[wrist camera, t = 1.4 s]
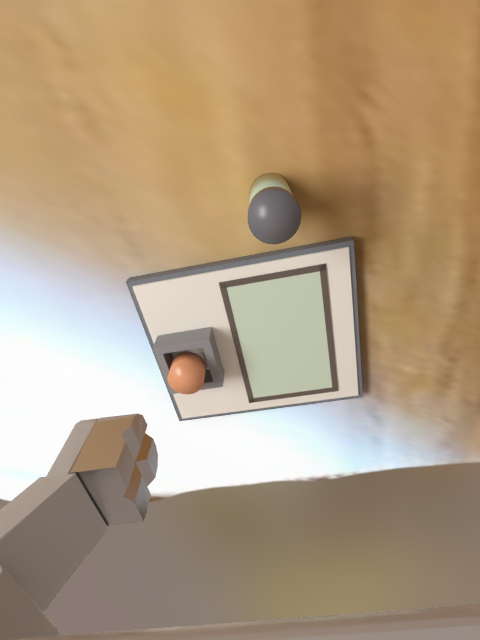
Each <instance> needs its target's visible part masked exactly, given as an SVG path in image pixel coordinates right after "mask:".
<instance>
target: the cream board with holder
mask: <svg viewBox="0 0 480 640" xmlns="http://www.w3.org/2000/svg"><path fill="white" fill-rule="evenodd" d="M126 283H127V286H128V289H129V291H130V294H131V296H132V299H133V301H134V304H135V307H136V309H137V312H138V314H139V317H140V320H141V322H142V325H143V327H144V330H145V333H146V335H147V338H148V340H149V343H150V346H151V348H152V351H153V353H154V356H155V358H156V361H157V364H158V366H159V369H160V371H161V374H162V377H163V379H164V382H165V384H166V387H167V390H168V392H169V395H170V397H171V400H172V403H173V405H174V408H175V410H176V413H177V416H178V418H179V421H184V420H192V419H199V418H207V417H215V416H222V415H230V414H237V413H245V412H253V411H260V410H268V409H275V408H283V407H291V406H298V405H306V404H314V403H321V402H329V401H336V400H344V399H352V398H359V397H363V390H362V373H361V355H360V338H359V321H358V303H357V286H356V269H355V252H354V240H353V238H352V237H347V238H341V239H336V240H330V241H325V242H320V243H314V244H309V245H303V246H298V247H293V248H287V249H282V250H276V251H271V252H266V253H260V254H255V255H250V256H244V257H239V258H233V259H228V260H223V261H217V262H212V263H206V264H201V265H196V266H190V267H185V268H179V269H174V270H169V271H163V272H158V273H153V274H147V275H142V276H136V277H131V278H129V279H128V280H127V281H126ZM184 352H192V353H195V354H197V355H199V356H200V357H202V358H203V360H204V361H205V363H206V373H205V378H204V384H203V386H202V388H201V389H200V390H199V391H198V392H196V393H193V394H181V393H178V392H176V391H175V390H173V389H172V388H171V387H170V385H169V383H168V374H169V371H170V368H171V364H172V361H173V359H174V358H175V357H176V356H177V355H178V354H180V353H184Z"/></svg>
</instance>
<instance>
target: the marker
mask: <svg viewBox="0 0 480 640" xmlns="http://www.w3.org/2000/svg"><path fill="white" fill-rule="evenodd" d="M300 221H301V212H300V208H299V206H298V203H297V201H296V199H295V198H294V196H293V194H292V192H291V190H290V188H289V185H288V183H287V182H286V180H285V179H284V178H283V177H282V176H280V175H278V174H275V173H266V174H263V175H261V176H259V177H258V178H257V179H256V180H255V181H254V182H253V184H252V186H251V189H250V198H249V209H248V224H249V228H250V230H251V232H252V233H253V235H254V236H255V237H256V238H257V239H258V240H260V241H262V242H264V243H267V244H279V243H283V242H285V241H287V240H289V239H290V238H291V237H292V236H293V235H294V234H295V233H296V231H297V230H298V228H299V225H300Z"/></svg>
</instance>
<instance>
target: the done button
mask: <svg viewBox="0 0 480 640" xmlns="http://www.w3.org/2000/svg"><path fill="white" fill-rule="evenodd" d="M205 373H206V363H205V361H204V360H203V358H202V357H200V356H199V355H197V354H195V353H192V352H184V353H180V354H178V355H177V356H176V357H175V358H174V359H173V361H172V364H171V368H170V371H169V374H168V383H169V385H170V387H171V388H172V389H173V390H175V391H176V392H178V393H181V394H193V393H196V392H198V391H199V390H200V389H201V388H202V386H203V384H204V378H205Z"/></svg>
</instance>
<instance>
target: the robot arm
mask: <svg viewBox="0 0 480 640" xmlns="http://www.w3.org/2000/svg"><path fill="white" fill-rule="evenodd" d="M146 428H147V424H146V422H145V419H144V417H143V415H140V414H131V415H123V416H114V417H105V418H100V419H91V420H82V421H80V422H78V423H77V424H76V425H75V426H74V428H73V430H72V432H71V433H70V435H69V437H68V439H67V441H66V442H65V444H64V446H63V448H62V450H61V451H60V453H59V455H58V457H57V459H56V460H55V462H54V464H53V466H52V468H51V469H50V471H49V473H48V475H47V477H41V478H39V479H38V480H36V481H35V482H34V483H33V484H32V485H30V486H29V487H28V488H27V489H25V490H24V491H23V492H22V493H21V494H19V495H18V496H17V497H16V498H14V499H13V500H12V501H11V502H10V503H8V504H7V505H6V506H5V507H3V508H2V509H1V510H0V640H480V605H468V606H453V607H439V608H427V609H412V610H398V611H385V612H371V613H358V614H345V615H330V616H317V617H303V618H291V619H276V620H265V621H249V622H236V623H223V624H209V625H195V626H182V627H169V628H156V629H141V630H127V631H114V632H101V633H87V634H75V635H74V634H73V635H60V636H59V631H58V628H57V626H56V625H55V624H54V623H53V622H52V621H51V620H50V618H49V617H48V616H47V615H46V614H45V613H44V611H45V609H46V608H47V607H48V605H49V604H50V603H51V602H52V600H53V599H54V598H55V596H56V595H57V594H58V593H59V591H60V590H61V589H62V588H63V586H64V585H65V584H66V582H67V581H68V580H69V579H70V577H71V576H72V575H73V573H74V572H75V571H76V569H77V568H78V567H79V566H80V564H81V563H82V562H83V560H84V559H85V558H86V557H87V555H88V554H89V553H90V552H91V550H92V549H93V548H94V546H95V545H96V544H97V542H98V541H99V540H100V539H101V537H102V536H103V535H104V534H105V532H106V531H107V530H108V526H114V525H122V524H129V523H136V522H144V519H145V515H146V511H147V507H148V504H149V500H150V496H151V494H150V492H149V490H148V488H147V486H148V485H149V484H150V483H151V482H152V481H153V480H154V478H155V476H156V471H157V466H158V454H157V449H156V445H155V442H154V440H153V438H151V437H150V436H148V435H147V434H145V431H146Z"/></svg>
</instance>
